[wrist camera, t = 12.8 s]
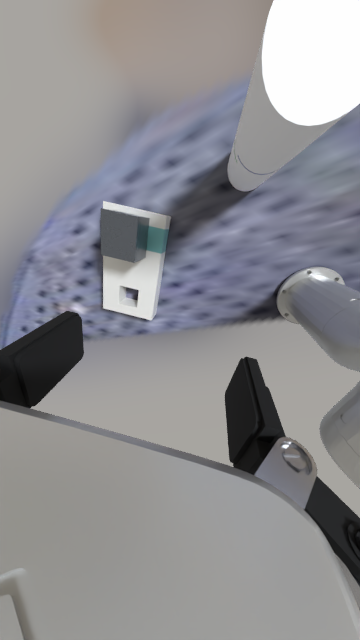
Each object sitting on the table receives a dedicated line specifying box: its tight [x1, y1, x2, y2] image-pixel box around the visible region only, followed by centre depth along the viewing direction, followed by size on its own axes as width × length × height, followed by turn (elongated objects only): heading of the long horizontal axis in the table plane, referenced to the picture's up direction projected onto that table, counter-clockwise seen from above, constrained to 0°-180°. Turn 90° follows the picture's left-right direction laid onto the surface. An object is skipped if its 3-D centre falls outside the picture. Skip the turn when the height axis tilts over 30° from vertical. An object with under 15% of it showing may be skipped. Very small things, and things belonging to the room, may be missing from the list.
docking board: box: [103, 201, 171, 320], centre depth 41 cm, size 22×12×4 cm, turn 169°
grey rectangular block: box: [101, 208, 150, 263], centre depth 35 cm, size 6×7×10 cm
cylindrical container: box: [227, 0, 360, 192], centre depth 21 cm, size 7×7×25 cm
